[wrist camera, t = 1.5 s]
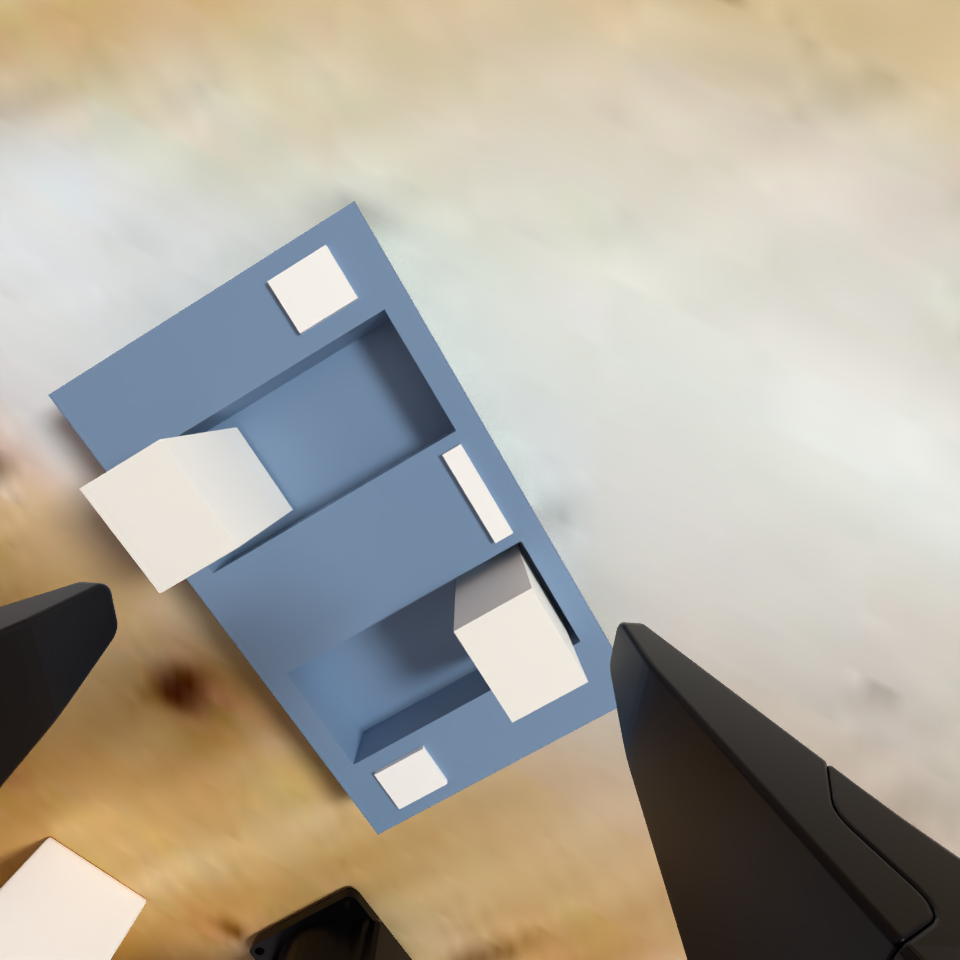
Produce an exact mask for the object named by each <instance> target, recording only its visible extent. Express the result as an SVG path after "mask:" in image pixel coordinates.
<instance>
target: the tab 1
mask: <svg viewBox="0 0 960 960" xmlns="http://www.w3.org/2000/svg"><path fill="white" fill-rule="evenodd" d="M80 490H81V492H82V493H83V494H84V495H85V497H86V498H87V499H88V501H89V502H90V503H91V505H92V506H93V507H94V508H95V510H96V511H97V512H98V514H99V515H100V516H101V518H102V519H103V520H104V522H105V523H106V524H107V525H108V527H109V528H110V529H111V531H112V532H113V533H114V535H115V536H116V537H117V538H118V540H119V541H120V542H121V544H122V545H123V546H124V548H125V549H126V550H127V552H128V553H129V554H130V555H131V557H132V558H133V559H134V561H135V562H136V563H137V565H138V566H139V567H140V568H141V570H142V571H143V572H144V574H145V575H146V576H147V578H148V579H149V580H150V582H151V583H152V584H153V585H154V587H155V588H156V589H157V591H158V592H159V593H162V592H164V591H165V590H167V589H169V588H171V587H172V586H174V585H176V584H177V583H179V582H181V581H182V580H184V579H186V578H187V577H189V576H191V575H193V574H194V573H196V572H198V571H199V570H201V569H203V568H204V567H206V566H208V565H210V564H211V563H213V562H215V561H216V560H218V559H220V558H221V557H223V556H225V555H227V554H228V553H230V552H232V551H233V550H235V549H237V548H238V547H240V546H241V545H243V544H244V543H246V542H247V541H248V540H250V539H251V538H253V537H254V536H256V535H257V534H259V533H260V532H261V531H263V530H264V529H266V528H267V527H269V526H270V525H272V524H273V523H274V522H276V521H277V520H279V519H280V518H282V517H283V516H285V515H286V514H287V513H289V512H290V511H292V510H293V509H292V508H291V506H290V505H289V503H288V502H287V500H286V499H285V497H284V496H283V494H282V493H281V491H280V490H279V488H278V487H277V486H276V484H275V483H274V481H273V480H272V478H271V477H270V475H269V474H268V472H267V471H266V469H265V468H264V466H263V465H262V464H261V462H260V461H259V459H258V458H257V456H256V455H255V453H254V452H253V450H252V449H251V447H250V446H249V444H248V443H247V441H246V440H245V439H244V437H243V436H242V434H241V433H240V431H239V430H238V428H237V427H235V428H228V429H222V430H216V431H210V432H203V433H197V434H191V435H184V436H178V437H172V438H165V439H159V440H158V441H156V442H155V443H153V444H151V445H150V446H148V447H146V448H145V449H143V450H142V451H140V452H138V453H137V454H135V455H133V456H132V457H130V458H129V459H127V460H125V461H124V462H122V463H120V464H119V465H117V466H115V467H114V468H112V469H111V470H109V471H107V472H106V473H104V474H102V475H101V476H99V477H98V478H96V479H94V480H93V481H91V482H89V483H88V484H86V485H85V486H83V487H81V488H80Z"/></svg>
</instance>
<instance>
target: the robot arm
mask: <svg viewBox="0 0 960 960" xmlns="http://www.w3.org/2000/svg"><path fill="white" fill-rule="evenodd" d="M116 630H117V619H116V614H115V609H114V604H113V599H112V594H111V591H110V589H109V587H108V586H107V585H105V584H101V583H88V582H79V583H75V584H72V585H69V586H65V587H62V588H59V589H56V590H53V591H50V592H47V593H43V594H40V595H37V596H34V597H31V598H28V599H24V600H21V601H18V602H15V603H12V604H9V605H5V606H2V607H0V787H1V786H2V785H3V784H4V783H5V781H6V780H7V779H8V778H9V776H10V775H11V774H12V773H13V772H14V770H15V769H16V768H17V767H18V766H19V764H20V763H21V762H22V761H23V760H24V758H25V757H26V756H27V755H28V754H29V752H30V751H31V750H32V749H33V748H34V746H35V745H36V744H37V743H38V742H39V740H40V739H41V738H42V737H43V736H44V734H45V733H46V732H47V731H48V729H49V728H50V727H51V726H52V724H53V723H54V722H55V721H56V719H57V718H58V717H59V715H60V714H61V712H62V711H63V710H64V708H65V707H66V706H67V704H68V703H69V701H70V700H71V698H72V697H73V696H74V694H75V693H76V691H77V690H78V688H79V687H80V686H81V684H82V683H83V681H84V680H85V678H86V677H87V675H88V674H89V673H90V671H91V670H92V668H93V667H94V665H95V664H96V663H97V661H98V660H99V658H100V657H101V655H102V654H103V652H104V651H105V650H106V648H107V647H108V645H109V644H110V642H111V641H112V639H113V638H114V636H115V633H116ZM610 674H611V679H612V685H613V690H614V695H615V700H616V706H617V711H618V716H619V722H620V727H621V732H622V738H623V743H624V748H625V752H626V757H627V760H628V764H629V768H630V771H631V775H632V778H633V781H634V785H635V788H636V791H637V795H638V798H639V801H640V804H641V808H642V811H643V814H644V818H645V821H646V824H647V828H648V831H649V834H650V838H651V841H652V844H653V847H654V851H655V854H656V857H657V861H658V864H659V867H660V871H661V874H662V877H663V880H664V884H665V887H666V890H667V894H668V897H669V900H670V904H671V907H672V910H673V914H674V917H675V920H676V923H677V927H678V930H679V933H680V937H681V940H682V943H683V947H684V950H685V953H686V956H687V960H960V858H959V857H957V856H956V855H954V854H953V853H952V852H950V851H949V850H947V849H946V848H944V847H943V846H941V845H940V844H939V843H937V842H936V841H934V840H933V839H931V838H930V837H929V836H927V835H926V834H924V833H923V832H921V831H920V830H918V829H917V828H916V827H914V826H913V825H911V824H910V823H908V822H907V821H905V820H904V819H903V818H901V817H900V816H898V815H897V814H896V813H894V812H893V811H892V810H890V809H889V808H888V807H886V806H885V805H883V804H882V803H881V802H879V801H878V800H877V799H875V798H874V797H873V796H871V795H870V794H868V793H867V792H866V791H864V790H863V789H862V788H860V787H859V786H858V785H856V784H855V783H854V782H852V781H851V780H850V779H848V778H847V777H846V776H844V775H843V774H842V773H840V772H839V771H838V770H836V769H835V768H834V767H832V766H827V764H826V762H825V761H824V760H823V759H822V758H820V757H819V756H818V755H816V754H815V753H814V752H812V751H811V750H810V749H808V748H807V747H806V746H804V745H803V744H802V743H800V742H799V741H798V740H796V739H795V738H794V737H792V736H791V735H790V734H788V733H787V732H786V731H785V730H783V729H782V728H781V727H779V726H778V725H777V724H775V723H774V722H773V721H771V720H770V719H769V718H767V717H766V716H765V715H763V714H762V713H761V712H759V711H758V710H757V709H755V708H754V707H753V706H751V705H750V704H749V703H747V702H746V701H745V700H743V699H742V698H741V697H739V696H738V695H737V694H735V693H734V692H733V691H731V690H730V689H729V688H727V687H726V686H725V685H724V684H722V683H721V682H720V681H718V680H717V679H716V678H714V677H713V676H712V675H710V674H709V673H708V672H706V671H705V670H704V669H702V668H701V667H700V666H698V665H697V664H696V663H694V662H693V661H692V660H690V659H689V658H688V657H686V656H685V655H684V654H682V653H681V652H680V651H678V650H677V649H676V648H674V647H673V646H672V645H670V644H669V643H668V642H666V641H665V640H664V639H663V638H661V637H660V636H659V635H657V634H656V633H655V632H653V631H652V630H651V629H649V628H648V627H647V626H645V625H644V624H640V623H626V622H622V623H621V624H619V626H618V628H617V631H616V636H615V640H614V645H613V649H612V654H611V659H610ZM250 953H251V955H252V956H253V958H254V959H255V960H412V959H411V958H410V957H409V955H408V954H407V953H406V952H405V950H404V949H403V948H402V946H401V945H400V944H399V943H398V941H397V940H396V939H395V938H394V936H393V935H392V934H391V932H390V931H389V930H388V929H387V927H386V926H385V925H384V923H383V922H382V921H381V920H380V918H379V917H378V916H377V915H376V913H375V912H374V911H373V909H372V908H371V907H370V906H369V904H368V903H367V902H366V900H365V899H364V898H363V897H362V895H361V894H360V893H359V892H358V891H357V890H355V889H347V890H344V891H343V892H341V893H339V894H337V895H335V896H333V897H331V898H329V899H327V900H325V901H323V902H322V903H320V904H318V905H316V906H314V907H312V908H310V909H308V910H306V911H304V912H302V913H301V914H299V915H297V916H295V917H293V918H291V919H289V920H287V921H285V922H283V923H282V924H280V925H278V926H276V927H274V928H272V929H270V930H268V931H266V932H264V933H262V934H261V935H259V936H257V937H256V938H255V939H254V941H253V943H252V946H251V949H250Z"/></svg>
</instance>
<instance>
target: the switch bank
mask: <svg viewBox="0 0 960 960" xmlns="http://www.w3.org/2000/svg"><path fill="white" fill-rule="evenodd" d="M49 396H50V398H51V399H52V400H53V402H54V403H55V404H56V406H57V407H58V408H59V410H60V411H61V412H62V414H63V415H64V416H65V418H66V419H67V420H68V422H69V423H70V424H71V426H72V427H73V428H74V430H75V431H76V432H77V434H78V435H79V436H80V438H81V439H82V440H83V442H84V443H85V444H86V446H87V447H88V448H89V450H90V451H91V452H92V454H93V455H94V456H95V458H96V459H97V460H98V462H99V463H100V464H101V466H102V467H103V468H104V470H105V471H106V472H107V471H109V470H111V469H112V468H114V467H115V466H117V465H119V464H120V463H122V462H124V461H125V460H127V459H129V458H130V457H132V456H133V455H135V454H137V453H138V452H140V451H142V450H143V449H145V448H146V447H148V446H150V445H151V444H153V443H155V442H156V441H158V440H159V439H165V438H172V437H178V436H184V435H191V434H197V433H203V432H210V431H216V430H222V429H228V428H235V427H237V428H238V430H239V431H240V433H241V434H242V436H243V437H244V439H245V440H246V441H247V443H248V444H249V446H250V447H251V449H252V450H253V452H254V453H255V455H256V456H257V458H258V459H259V461H260V462H261V464H262V465H263V466H264V468H265V469H266V471H267V472H268V474H269V475H270V477H271V478H272V480H273V481H274V483H275V484H276V486H277V487H278V488H279V490H280V491H281V493H282V494H283V496H284V497H285V499H286V500H287V502H288V503H289V505H290V506H291V508H292V509H293V510H292V511H290V512H289V513H287V514H286V515H285V516H283V517H282V518H280V519H279V520H277V521H276V522H274V523H273V524H272V525H270V526H269V527H267V528H266V529H264V530H263V531H261V532H260V533H259V534H257V535H256V536H254V537H253V538H251V539H250V540H248V541H247V542H246V543H244V544H243V545H241V546H240V547H238V548H237V549H235V550H233V551H232V552H230V553H228V554H227V555H225V556H223V557H221V558H220V559H218V560H216V561H215V562H213V563H211V564H210V565H208V566H206V567H204V568H203V569H201V570H199V571H198V572H196V573H194V574H193V575H191V576H189V577H187V578H186V579H187V581H188V582H189V583H190V585H191V586H192V587H193V589H194V590H195V591H196V593H197V594H198V595H199V597H200V598H201V599H202V601H203V602H204V603H205V605H206V606H207V607H208V609H209V610H210V611H211V613H212V614H213V615H214V617H215V618H216V619H217V621H218V622H219V623H220V625H221V626H222V627H223V629H224V630H225V631H226V633H227V634H228V635H229V637H230V638H231V639H232V641H233V642H234V643H235V645H236V646H237V647H238V649H239V650H240V651H241V653H242V654H243V655H244V657H245V658H246V659H247V661H248V662H249V663H250V665H251V666H252V667H253V669H254V670H255V671H256V673H257V674H258V675H259V677H260V678H261V679H262V681H263V682H264V683H265V685H266V686H267V687H268V689H269V690H270V691H271V693H272V694H273V695H274V697H275V698H276V699H277V701H278V702H279V703H280V705H281V706H282V707H283V709H284V710H285V711H286V713H287V714H288V715H289V717H290V718H291V719H292V721H293V722H294V723H295V725H296V726H297V727H298V729H299V730H300V731H301V733H302V734H303V735H304V737H305V738H306V739H307V741H308V742H309V743H310V745H311V746H312V747H313V749H314V750H315V751H316V753H317V754H318V755H319V757H320V758H321V759H322V761H323V762H324V763H325V765H326V766H327V767H328V769H329V770H330V771H331V773H332V774H333V775H334V777H335V778H336V779H337V781H338V782H339V783H340V785H341V786H342V787H343V789H344V790H345V791H346V793H347V794H348V795H349V797H350V798H351V799H352V801H353V802H354V803H355V805H356V806H357V807H358V809H359V810H360V811H361V813H362V814H363V815H364V817H365V818H366V819H367V821H368V822H369V823H370V825H371V826H372V827H373V829H374V830H375V831H376V833H377V834H380V833H382V832H384V831H386V830H387V829H389V828H391V827H393V826H395V825H397V824H399V823H401V822H403V821H404V820H406V819H408V818H410V817H412V816H414V815H416V814H418V813H419V812H421V811H423V810H425V809H427V808H429V807H431V806H433V805H435V804H436V803H438V802H440V801H442V800H444V799H446V798H448V797H450V796H452V795H453V794H455V793H457V792H459V791H461V790H463V789H465V788H467V787H469V786H470V785H472V784H474V783H476V782H478V781H480V780H482V779H484V778H485V777H487V776H489V775H491V774H493V773H495V772H497V771H499V770H501V769H502V768H504V767H506V766H508V765H510V764H512V763H514V762H516V761H518V760H519V759H521V758H523V757H525V756H527V755H529V754H531V753H533V752H535V751H536V750H538V749H540V748H542V747H544V746H546V745H548V744H550V743H552V742H553V741H555V740H557V739H559V738H561V737H563V736H565V735H567V734H568V733H570V732H572V731H574V730H576V729H578V728H580V727H582V726H584V725H585V724H587V723H589V722H591V721H593V720H595V719H597V718H599V717H601V716H602V715H604V714H606V713H608V712H610V711H612V710H614V709H616V708H617V706H616V700H615V695H614V690H613V685H612V679H611V674H610V659H611V654H612V649H613V648H612V646H611V644H610V643H609V641H608V639H607V638H606V636H605V634H604V632H603V631H602V629H601V627H600V625H599V624H598V622H597V620H596V618H595V617H594V615H593V613H592V612H591V610H590V608H589V606H588V605H587V603H586V601H585V599H584V598H583V596H582V594H581V592H580V591H579V589H578V587H577V586H576V584H575V582H574V580H573V579H572V577H571V575H570V573H569V572H568V570H567V568H566V567H565V565H564V563H563V561H562V560H561V558H560V556H559V554H558V553H557V551H556V549H555V547H554V546H553V544H552V542H551V541H550V539H549V537H548V535H547V534H546V532H545V530H544V528H543V527H542V525H541V523H540V521H539V520H538V518H537V516H536V515H535V513H534V511H533V509H532V508H531V506H530V504H529V502H528V501H527V499H526V497H525V495H524V494H523V492H522V490H521V489H520V487H519V485H518V483H517V482H516V480H515V478H514V476H513V475H512V473H511V471H510V470H509V468H508V466H507V464H506V463H505V461H504V459H503V457H502V456H501V454H500V452H499V450H498V449H497V447H496V445H495V444H494V442H493V440H492V438H491V437H490V435H489V433H488V431H487V430H486V428H485V426H484V424H483V423H482V421H481V419H480V418H479V416H478V414H477V412H476V411H475V409H474V407H473V405H472V404H471V402H470V400H469V399H468V397H467V395H466V393H465V392H464V390H463V388H462V386H461V385H460V383H459V381H458V379H457V378H456V376H455V374H454V373H453V371H452V369H451V367H450V366H449V364H448V362H447V360H446V359H445V357H444V355H443V353H442V352H441V350H440V348H439V347H438V345H437V343H436V341H435V340H434V338H433V336H432V334H431V333H430V331H429V329H428V328H427V326H426V324H425V322H424V321H423V319H422V317H421V315H420V314H419V312H418V310H417V308H416V307H415V305H414V303H413V302H412V300H411V298H410V296H409V295H408V293H407V291H406V289H405V288H404V286H403V284H402V282H401V281H400V279H399V277H398V276H397V274H396V272H395V270H394V269H393V267H392V265H391V263H390V262H389V260H388V258H387V257H386V255H385V253H384V251H383V250H382V248H381V246H380V244H379V243H378V241H377V239H376V237H375V236H374V234H373V232H372V231H371V229H370V227H369V225H368V224H367V222H366V220H365V218H364V217H363V215H362V213H361V212H360V210H359V208H358V206H357V205H356V203H355V201H354V202H352V203H351V204H349V205H348V206H346V207H345V208H343V209H341V210H340V211H338V212H337V213H335V214H334V215H332V216H330V217H329V218H327V219H326V220H324V221H322V222H321V223H319V224H318V225H316V226H315V227H313V228H311V229H310V230H308V231H307V232H305V233H304V234H302V235H300V236H299V237H297V238H296V239H294V240H292V241H291V242H289V243H288V244H286V245H285V246H283V247H281V248H280V249H278V250H277V251H275V252H274V253H272V254H270V255H269V256H267V257H266V258H264V259H262V260H261V261H259V262H258V263H256V264H255V265H253V266H251V267H250V268H248V269H247V270H245V271H244V272H242V273H240V274H239V275H237V276H236V277H234V278H232V279H231V280H229V281H228V282H226V283H225V284H223V285H221V286H220V287H218V288H217V289H215V290H214V291H212V292H210V293H209V294H207V295H206V296H204V297H202V298H201V299H199V300H198V301H196V302H195V303H193V304H191V305H190V306H188V307H187V308H185V309H184V310H182V311H180V312H179V313H177V314H176V315H174V316H172V317H171V318H169V319H168V320H166V321H165V322H163V323H161V324H160V325H158V326H157V327H155V328H154V329H152V330H150V331H149V332H147V333H146V334H144V335H142V336H141V337H139V338H138V339H136V340H135V341H133V342H131V343H130V344H128V345H127V346H125V347H124V348H122V349H120V350H119V351H117V352H116V353H114V354H112V355H111V356H109V357H108V358H106V359H105V360H103V361H101V362H100V363H98V364H97V365H95V366H94V367H92V368H90V369H89V370H87V371H86V372H84V373H82V374H81V375H79V376H78V377H76V378H75V379H73V380H71V381H70V382H68V383H67V384H65V385H64V386H62V387H60V388H59V389H57V390H56V391H54V392H52V393H51V394H49ZM515 544H518V545H519V547H520V549H521V550H522V552H523V554H524V556H525V557H526V559H527V561H528V562H529V564H530V566H531V567H532V569H533V571H534V572H535V574H536V576H537V577H538V579H539V581H540V582H541V584H542V586H543V588H544V589H545V591H546V593H547V594H548V596H549V598H550V599H551V601H552V603H553V604H554V606H555V608H556V609H557V611H558V613H559V615H560V617H561V619H562V621H563V624H564V626H565V628H566V631H567V633H568V635H569V638H570V640H571V643H572V645H573V647H574V650H575V652H576V654H577V657H578V659H579V661H580V664H581V666H582V668H583V671H584V673H585V675H586V678H587V680H588V682H587V683H585V684H584V685H582V686H580V687H578V688H576V689H574V690H572V691H571V692H569V693H567V694H565V695H563V696H561V697H559V698H558V699H556V700H554V701H552V702H550V703H548V704H546V705H544V706H543V707H541V708H539V709H537V710H535V711H533V712H531V713H530V714H528V715H526V716H524V717H522V718H520V719H518V720H517V721H515V722H513V723H512V721H511V720H510V718H509V717H508V715H507V714H506V712H505V710H504V709H503V707H502V706H501V704H500V703H499V701H498V700H497V698H496V696H495V695H494V693H493V692H492V690H491V689H490V687H489V686H488V684H487V683H486V681H485V679H484V678H483V676H482V675H481V673H480V672H479V670H478V669H477V667H476V666H475V664H474V662H473V661H472V659H471V658H470V656H469V655H468V653H467V652H466V650H465V648H464V647H463V645H462V644H461V642H460V641H459V639H458V638H457V636H456V635H455V633H454V611H455V589H456V578H457V577H458V576H460V575H462V574H464V573H465V572H467V571H469V570H471V569H472V568H474V567H476V566H478V565H480V564H481V563H483V562H485V561H487V560H488V559H490V558H492V557H494V556H496V555H497V554H499V553H501V552H503V551H504V550H506V549H508V548H510V547H511V546H513V545H515Z"/></svg>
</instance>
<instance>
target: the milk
mask: <svg viewBox="0 0 960 960" xmlns="http://www.w3.org/2000/svg"><path fill="white" fill-rule="evenodd" d="M145 903H146V899H144V898H143V897H142V896H140V895H138V894H137V893H135V892H134V891H132V890H131V889H129V888H128V887H126V886H125V885H123V884H122V883H120V882H119V881H117V880H116V879H114V878H113V877H111V876H109V875H108V874H106V873H105V872H103V871H102V870H100V869H99V868H97V867H96V866H94V865H93V864H91V863H90V862H88V861H87V860H85V859H83V858H82V857H80V856H79V855H77V854H76V853H74V852H73V851H71V850H70V849H68V848H67V847H65V846H64V845H62V844H61V843H59V842H57V841H56V840H54V839H53V838H51V837H49V838H47V839H46V840H45V841H44V842H43V843H42V844H41V845H40V847H39V848H38V849H37V850H36V851H35V852H34V853H33V854H32V855H31V856H30V857H29V858H28V859H27V860H26V862H25V863H24V864H23V865H22V866H21V867H20V868H19V869H18V870H17V871H16V872H15V873H14V874H13V875H12V877H11V878H10V879H9V880H8V881H7V882H6V883H5V884H4V885H3V886H2V887H1V888H0V960H111V958H112V956H113V955H114V953H115V952H116V950H117V948H118V947H119V945H120V944H121V942H122V940H123V939H124V937H125V936H126V934H127V932H128V931H129V929H130V927H131V926H132V924H133V923H134V921H135V919H136V918H137V916H138V915H139V913H140V911H141V910H142V908H143V907H144V905H145Z"/></svg>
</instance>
